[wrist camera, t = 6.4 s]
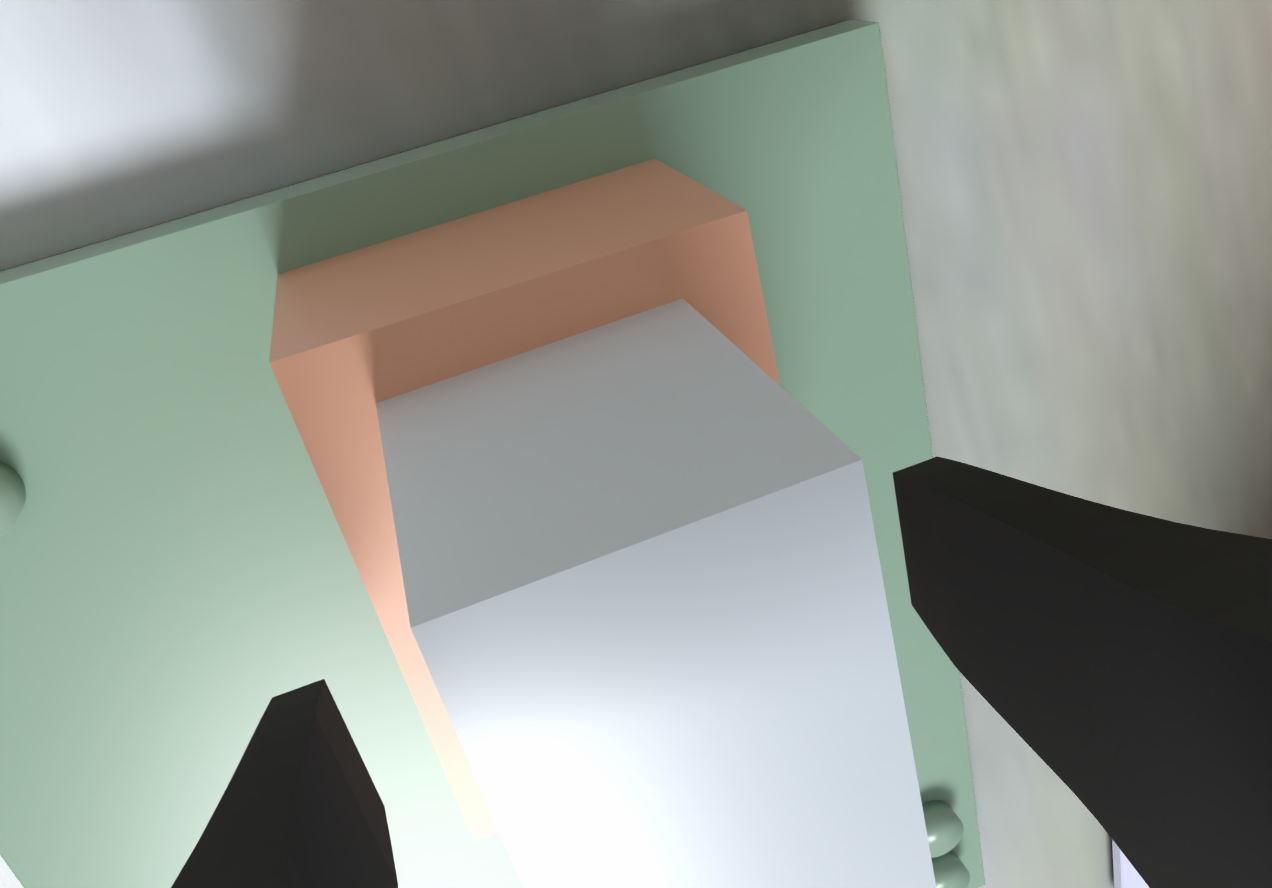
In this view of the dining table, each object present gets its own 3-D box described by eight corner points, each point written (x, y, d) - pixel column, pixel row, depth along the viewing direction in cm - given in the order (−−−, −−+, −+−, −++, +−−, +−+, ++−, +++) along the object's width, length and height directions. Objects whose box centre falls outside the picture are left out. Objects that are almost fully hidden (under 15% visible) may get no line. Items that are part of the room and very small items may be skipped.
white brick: (682, 298, 14) (861, 459, 9) (776, 682, 17) (945, 944, 12) (374, 403, 13) (410, 628, 9) (528, 782, 16) (611, 1093, 12)
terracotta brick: (654, 157, 17) (746, 210, 13) (748, 572, 21) (840, 698, 17) (277, 274, 16) (269, 362, 13) (445, 684, 20) (474, 841, 16)
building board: (850, 19, 18) (894, 24, 17) (963, 854, 27) (997, 900, 26) (-302, 360, 15) (-359, 398, 14) (250, 1154, 24) (247, 1222, 23)
